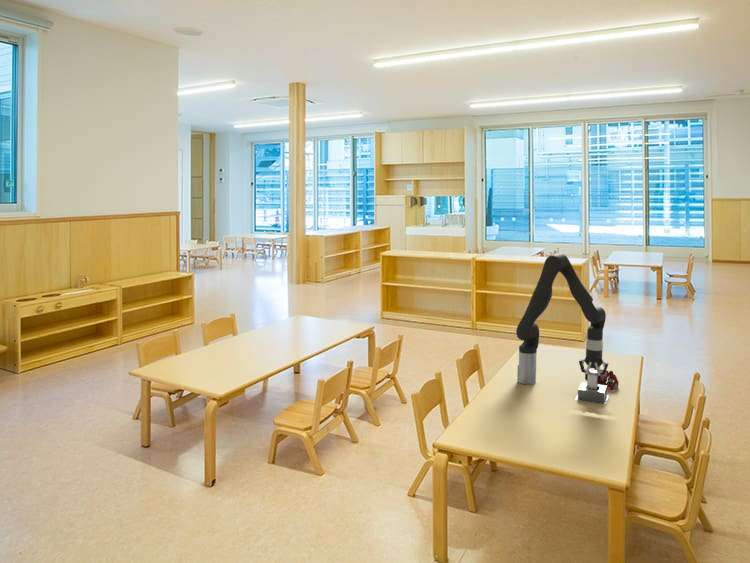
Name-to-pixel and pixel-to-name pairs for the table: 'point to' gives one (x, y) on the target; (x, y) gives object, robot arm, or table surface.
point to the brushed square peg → (592, 380)
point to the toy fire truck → (609, 380)
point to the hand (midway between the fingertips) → (592, 381)
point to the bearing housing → (592, 394)
